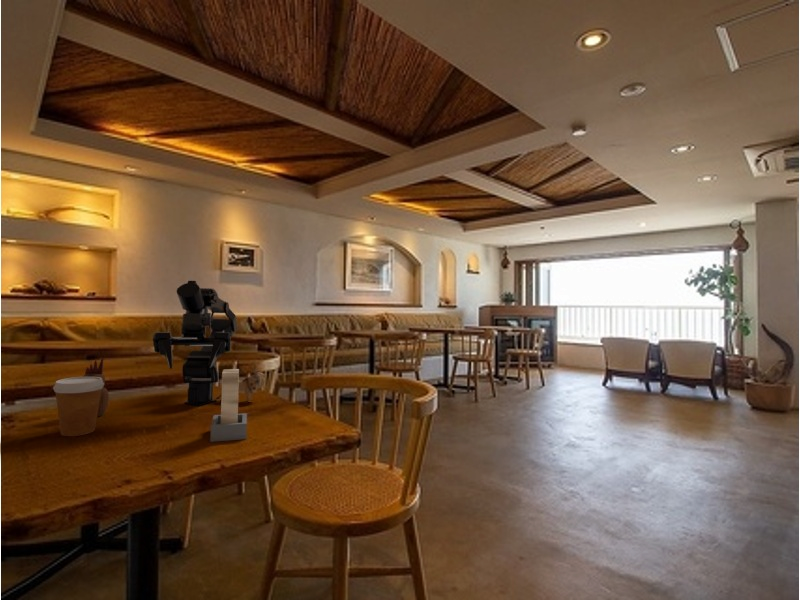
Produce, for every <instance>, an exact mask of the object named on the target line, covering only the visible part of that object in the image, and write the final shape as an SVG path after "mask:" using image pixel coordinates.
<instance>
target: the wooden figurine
mask: <svg viewBox="0 0 800 600" xmlns="http://www.w3.org/2000/svg"><path fill="white" fill-rule="evenodd" d="M89 365H90V366H87V367H86V369H85V373H84V375H83V376H82V377H100V378H102V380H103V383H104V384H105V381H106V380H105V379H106V378H105V375H104V358H101V360H100V362H99V365H98V361H97V360H96V359H95V360H94V364H89ZM109 398H110V395H109V391H108V390H107V388H106V387H104V386H103V388H102V391H101V397H100V402H99V408H98V414H97V418H98V417H101V416H103V415H104V414H105V412H106V411H107V409H108V404H109V401H110V399H109Z"/></svg>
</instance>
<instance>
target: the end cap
mask: <svg viewBox="0 0 800 600" xmlns="http://www.w3.org/2000/svg"><path fill="white" fill-rule="evenodd" d="M247 425H248V413H245V412H244V413H238V421H237V423H230V424H221V414H214V415H213V417H212V420H211V423H210V441H209V442H222V441H223V442H224V441H235V440H236V441H237V440H240V441H241V440H247V432H248V431H247V427H248V426H247Z"/></svg>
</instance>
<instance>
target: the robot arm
mask: <svg viewBox="0 0 800 600" xmlns="http://www.w3.org/2000/svg"><path fill="white" fill-rule="evenodd" d="M176 294H177V297H178V300H179V302H180V305H181V308H182V309H183V310H185V313H183V314H182V323H181V335H182V336H172V331H168V332H167V331H159V332H158V331H156V332H155V333H154V334H153V337H152V341H153V342H152V343H153V349H154V353H157V354H159V355H162V356H164V357H165V359H166V360H167V364H168V367H169V369H170V370H172V368H173V346H185V347H186V346H187V347H188V346H189V347H201V348H200V350H192V351H191V352H189V354H188V356H187V357H186V360H185V362H184V363H183V364H182V368H181V369H182V378H183V379H182V380H183V384H188V388H187V400H184V402H183V403H184V404H187V405H195V406H204V405H207V404H206V403H208V404H210V403H209V402H211V403H214V402H213V401H215V402H217V399H216V398H213V395H214V394H213V390H214V383H219V371H218V370H219V369H218V367H217V365H216V361H217V360H218V358H219V357H220V356H222V355H225V353H227V352H231V339H232V337H233V336H234V335H235V333H236V332H237V329H238V322H237V318H236V317H237V316H236V314H235V313H234V312H233V310H231V308H230V304H229V302H227V301H224V300H223V299H221V298H220V297H219V294H218V293H217V291H216V289H214V288H212V287H211V288H208V287H206V288H203V287H202V288H201V287H200V286H199V284H198V283H197V281H196V280H188V281H187V282H186V283H184V284H183V283H182V285H180V286H179V287H177V289H176ZM209 311H211V312H209ZM215 314H225V316H226V317H227V318H218V317H217V318H216V317H214V315H215ZM207 326H209V327H208V328H209V331H210V334H209V336H208V337H206V335H207ZM203 404H204V405H203Z"/></svg>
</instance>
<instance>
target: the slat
mask: <svg viewBox="0 0 800 600" xmlns="http://www.w3.org/2000/svg"><path fill="white" fill-rule="evenodd" d="M221 374H222V375H221V392H222V396H221V397H220V399H221V401H220V402H221V403H220V409H221V410H220V415H221V424H230V423H237V421H238V414H239V392H238V388H239V381H240V369H239V368H231V369H230V368H229V369H228V368H227V369H223V370H222V373H221Z"/></svg>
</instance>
